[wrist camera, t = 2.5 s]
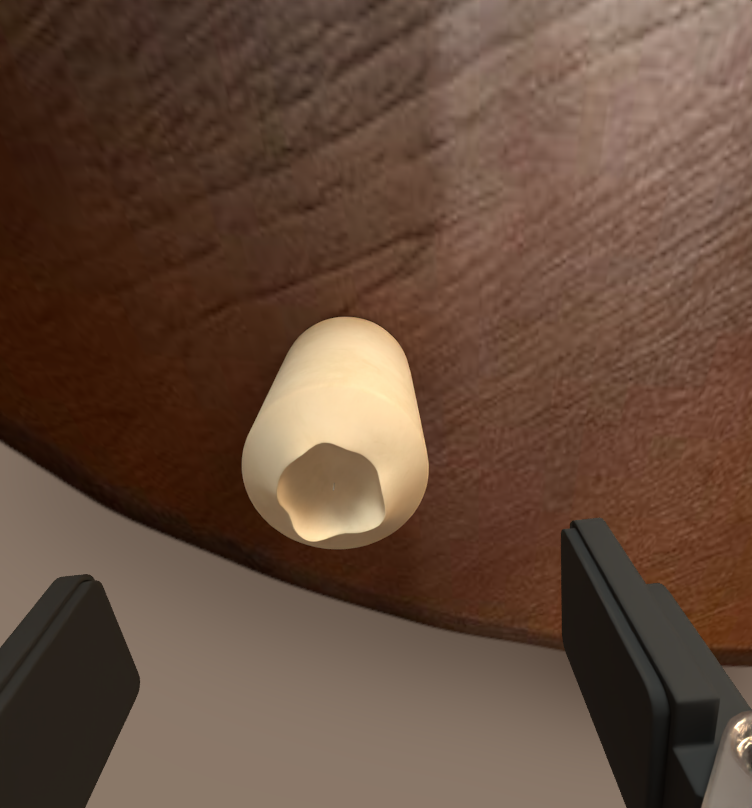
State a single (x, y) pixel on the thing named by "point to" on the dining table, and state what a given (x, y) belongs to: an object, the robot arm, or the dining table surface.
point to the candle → (338, 439)
